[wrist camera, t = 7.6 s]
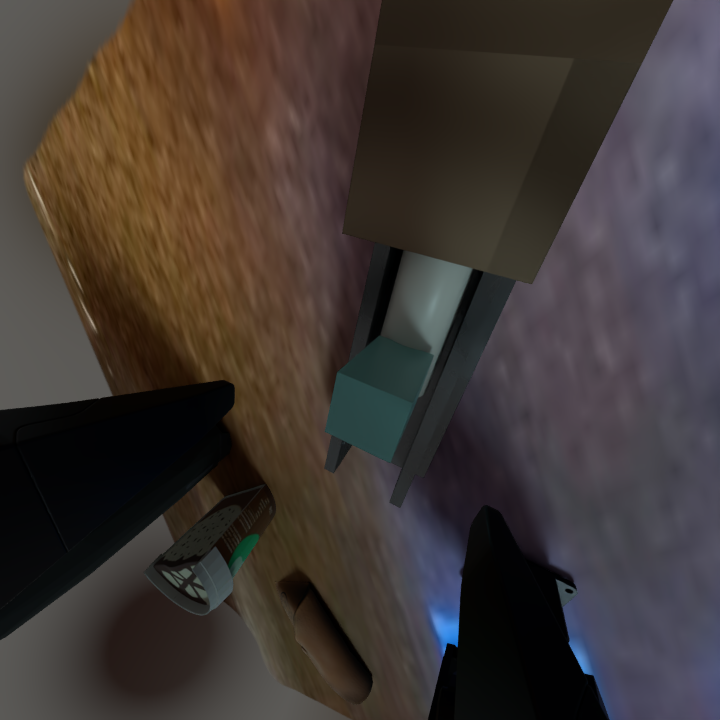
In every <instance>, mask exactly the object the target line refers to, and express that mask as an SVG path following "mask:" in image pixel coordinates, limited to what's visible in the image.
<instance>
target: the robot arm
mask: <svg viewBox="0 0 720 720" xmlns="http://www.w3.org/2000/svg"><path fill="white" fill-rule="evenodd" d="M234 400H235V387H234V385H233V384H232V383H230V382H228V381H225V380H220V381H213V382H206V383H199V384H192V385H186V386H179V387H172V388H165V389H158V390H152V391H145V392H138V393H131V394H124V395H118V396H111V397H104V398H100V399H98V398H97V399H91V400H83V401H77V402H69V403H61V404H53V405H45V406H35V407H25V408H16V409H7V410H0V609H2V608H3V607H4V606H5V605H6V604H8V603H9V602H10V601H11V600H12V599H13V598H15V597H16V596H17V595H18V594H19V593H21V592H22V591H23V590H24V589H25V588H26V587H28V586H29V585H30V584H31V583H32V582H34V581H35V580H36V579H37V578H38V577H39V576H41V575H42V574H43V573H44V572H45V571H46V570H48V569H49V568H50V567H51V566H52V565H54V564H55V563H56V562H57V561H58V560H59V559H61V558H62V557H63V556H64V555H65V554H67V551H70V550H71V549H72V548H73V547H75V546H76V545H77V544H78V543H79V542H80V541H82V540H83V539H84V538H85V537H86V536H88V535H89V534H90V533H91V532H92V531H93V530H95V529H96V528H97V527H98V526H99V525H101V524H102V523H103V522H104V521H105V520H106V519H108V518H109V517H110V516H111V515H112V514H114V513H115V512H116V511H117V510H118V509H119V508H121V507H122V506H123V505H124V504H125V503H127V502H128V501H129V500H130V499H131V498H132V497H134V496H135V495H136V494H137V493H138V492H139V491H141V490H142V489H143V488H144V487H145V486H147V485H148V484H149V483H150V482H151V481H152V480H154V479H155V478H156V477H157V476H158V475H160V474H161V473H162V472H163V471H164V470H165V469H167V468H168V467H169V466H170V465H171V464H173V463H174V462H175V461H176V460H177V459H178V458H180V457H181V456H182V455H183V454H184V453H186V452H187V451H188V450H189V449H190V448H191V447H193V446H194V445H195V444H196V443H197V442H198V441H200V440H201V439H202V438H203V437H204V436H205V435H206V434H207V433H208V432H209V431H210V430H211V429H212V428H213V427H214V426H215V425H216V424H217V423H218V422H219V421H220V420H221V419H222V418H223V417H224V416H225V415H226V414H227V413H228V411H229V410H230V409H231V408H232V407H233V405H234ZM577 594H578V593H577V589H576V586H575V584H574V583H572V582H570V581H568V580H566V579H564V578H562V577H560V576H558V575H557V574H555V573H553V572H551V571H549V570H547V569H545V568H543V567H541V566H539V565H537V564H535V563H533V562H531V561H529V560H527V559H525V558H524V557H523V555H522V553H521V551H520V549H519V547H518V545H517V543H516V541H515V539H514V537H513V535H512V533H511V531H510V530H509V528H508V526H507V524H506V522H505V520H504V518H503V516H502V514H501V513H500V512H499V511H498V510H496V509H494V508H492V507H490V506H488V505H484V506H483V507H482V508H481V510H480V511H479V513H478V514H477V516H476V517H475V519H474V520H473V522H472V525H471V528H470V534H469V540H468V546H467V552H466V558H465V564H464V570H463V577H462V584H461V596H460V615H459V635H458V647H456V646H455V645H453V644H449V643H447V646H446V650H445V654H444V657H443V660H442V664H441V668H440V672H439V676H438V681H437V685H436V689H435V693H434V697H433V701H432V705H431V709H430V713H429V717H428V720H609V717H608V714H607V711H606V709H605V706H604V703H603V700H602V698H601V695H600V692H599V689H598V687H597V684H596V681H595V678H594V676H593V675H588V674H584V673H583V671H582V669H581V667H580V665H579V663H578V661H577V659H576V657H575V655H574V653H573V651H572V649H571V647H570V645H569V643H568V642H569V635H568V631H567V626H566V622H565V617H564V613H563V608H562V607H563V606H564V605H565V604H567V603H568V602H569V601H570V600H571V599H572V598H574V597H575V596H576V595H577Z"/></svg>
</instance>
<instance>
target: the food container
mask: <svg viewBox="0 0 720 720" xmlns="http://www.w3.org/2000/svg"><path fill="white" fill-rule="evenodd" d="M275 512H276V505H275V501H274V498H273V495H272V493H271V491H270V489H269V488H268V486H267V485H266V484H264V485H260V486H257V487H254V488H251V489H248V490H244V491H241V492H238V493H235V494H232V495H228V496H225V497H224V498H223V499H222V500H221V501H219V502H218V503H217V504H216V505H215V506H214V507H213V508H212V509H211V510H210V511H209V512H208V513H207V514H206V515H204V516H203V517H202V518H201V519H200V520H199V521H198V522H197V523H196V524H195V525H194V526H193V527H192V528H190V529H189V530H188V531H187V532H186V533H185V534H184V535H183V536H182V537H181V538H180V539H179V540H178V541H176V542H175V543H174V544H173V545H172V546H171V547H170V548H169V549H168V550H167V551H166V552H165V553H164V554H163V555H162V554H161V555H160V556H159V557H158V558H157V559H156V560H155V561H154V562H153V563H152V564H151V565H150V566H149V568H148V569H146V571H144V574H145V575H146V576H147V578H148V579H149V580H150V581H151V582H152V583H153V584H154V585H155V586H156V587H157V588H158V589H159V590H160V591H161V592H162V593H163V594H164V595H166V596H167V597H168V598H169V599H171V600H172V601H173V602H174V603H176V604H177V605H179V606H180V607H182V608H183V609H185V610H187V611H189V612H191V613H194V614H197V615H206V614H208V612H209V611H210V610H212V609H215V608H216V607H217V606H218V605H219V604H220V603H221V602H222V601H223V600H224V599H225V598H226V597H227V596H228V595H229V594H230V593H231V592H232V589H233V580H232V579H233V577H234V576H235V574H236V573H237V571H238V570H239V568H240V567H241V565H242V564H243V562H244V561H245V559H246V558H247V556H248V555H249V553H250V552H251V550H252V549H253V547H254V546H255V544H256V543H257V541H258V540H259V538H260V537H261V535H262V534H263V532H264V531H265V529H266V528H267V526H268V525H269V523H270V522H271V520H272V519H273V517H274V515H275Z"/></svg>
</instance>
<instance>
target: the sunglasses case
mask: <svg viewBox="0 0 720 720" xmlns="http://www.w3.org/2000/svg"><path fill="white" fill-rule="evenodd" d="M275 583H276V587H277V591H278V594H279V597H280V600H281V602H282V605H283V607H284V609H285V611H286V613H287V615H288V617H289V619H290V620H291V622H292V624H293V626H294V630H295V638H296V641H297V642H298V643H299V644H300V645H302V647H301V648H302V650H303V651H304V653H305V654H307V655H308V657H309V659H310V660H311V661H312V663H313V664H314V666H315V667H316V669H317V670H318V672H319V673H320V675H321V676H322V678H323V679H324V680H325V681H326V683H328V685H329V686H330V687H331V688H332V689H333V690H334V691H335V692H336V693H337V694H339V695H340V696H341V697H342V698H343V699H345V700H346V701H348V702H350V703H352V704H356V705H358V704H361V703H362V702H363V701H364V700H365V699H366V698H367V697H368V695H369V694H370V692H371V688H372V684H373V680H372V677H371V676H370V675H369V674H368V673H367V671H366V670H365V669H364V667H363V666H362V665H361V663H360V662H358V661H357V659H356V657H355V656H354V655H353V654H352V653H351V652H350V651H349V648H348V647H347V645H346V643H345V642H344V640H343V638H342V637H341V635H340V634H339V633H338V631H337V630H336V629H335V627H334V625H333V623H332V621H331V620H330V618H329V617H328V615H327V614H326V612H325V611H324V609H323V608H322V606H321V604H320V603H319V601H318V600H317V598H316V596H315V594H314V592H313V591H312V590H311V589H310V583H306V582H276V581H275Z"/></svg>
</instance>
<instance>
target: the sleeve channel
mask: <svg viewBox="0 0 720 720" xmlns="http://www.w3.org/2000/svg"><path fill="white" fill-rule="evenodd" d="M402 254H403V250H402V249H398V248H395V247H391V246H387V245H383V244H380V243H376V242H375V245H374V249H373V254H372V258H371V263H370V267H369V272H368V276H367V281H366V285H365V290H364V294H363V299H362V303H361V307H360V312H359V316H358V321H357V325H356V330H355V334H354V339H353V343H352V348H351V352H350V356H349V361H351V360H352V359H353V358H354V357H355V356H356V355H358V354H359V353H360V352H361V351H362V350H363V349H365V348H366V347H367V346H368V345H369V344H370V343H371V342H373V341H374V340H375V339H376V338H377V337H378V336H380V335H381V331H382V327H383V324H384V320H385V316H386V313H387V309H388V305H389V302H390V298H391V294H392V291H393V287H394V283H395V279H396V276H397V272H398V268H399V265H400V261H401V257H402ZM515 282H516V280H514V279H510V278H506V277H503V276H499V275H495V274H491V273H488V272H484V271H480V270H477V269H475V270H474V272H473V275H472V277H471V280H470V283H469V285H468V288H467V290H466V293H465V295H464V298H463V300H462V303H461V305H460V308H459V310H458V313H457V316H456V318H455V321H454V323H453V326H452V328H451V331H450V333H449V336H448V338H447V341H446V343H445V346H444V349H443V351H442V354H441V356H440V359H439V361H438V364H437V366H436V369H435V371H434V374H433V376H432V379H431V381H430V384H429V387H428V389H427V392H426V393H425V394H424V395H423V396H421V397H418V399H417V402H416V404H415V407H414V409H413V411H412V414H411V416H410V418H409V421H408V423H407V425H406V428H405V430H404V432H403V435H402V437H401V439H400V442H399V444H398V446H397V449H396V451H395V453H394V456H393V458H392V461H391V463H393V464H395V465H397V466H399V467H401V468H402V469H401V472H400V475H399V477H398V480H397V483H396V485H395V488H394V491H393V494H392V496H391V499H390V503H392V504H393V505H395V506H397V507H399V508H400V507H401V505H402V503H403V500H404V498H405V496H406V494H407V491H408V489H409V487H410V485H411V482H412V480H413V478H414V476H415V474H416V475H418V476H420V477H422V478H424V476H425V474H426V472H427V470H428V467H429V465H430V463H431V461H432V459H433V457H434V455H435V453H436V450H437V448H438V446H439V444H440V442H441V440H442V438H443V435H444V433H445V431H446V429H447V427H448V425H449V423H450V421H451V418H452V416H453V414H454V412H455V410H456V408H457V406H458V403H459V401H460V399H461V397H462V395H463V393H464V391H465V389H466V386H467V384H468V382H469V380H470V378H471V376H472V374H473V372H474V369H475V367H476V365H477V363H478V361H479V359H480V357H481V354H482V352H483V350H484V348H485V346H486V344H487V342H488V340H489V337H490V335H491V333H492V331H493V329H494V327H495V325H496V322H497V320H498V318H499V316H500V314H501V312H502V310H503V308H504V305H505V303H506V301H507V299H508V297H509V295H510V293H511V290H512V288H513V286H514V284H515ZM349 361H348V362H349ZM351 446H352V445H351V444H349V443H347V442H345V441H343V440H341V439H339V438H337V437H335V436H333V435H332V437H331V441H330V446H329V450H328V454H327V459H326V463H325V469H326V470H328V471H330V472H332V473H334V472H335V471H336V469H337V468H338V466H339V465H340V463H341V462H342V460H343V459H344V457H345V456H346V454H347V453H348V451H349V449H350V448H351Z"/></svg>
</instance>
